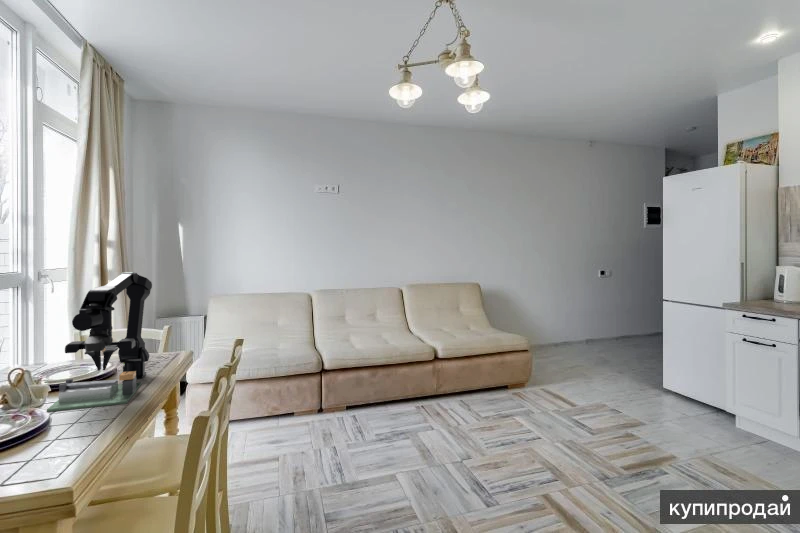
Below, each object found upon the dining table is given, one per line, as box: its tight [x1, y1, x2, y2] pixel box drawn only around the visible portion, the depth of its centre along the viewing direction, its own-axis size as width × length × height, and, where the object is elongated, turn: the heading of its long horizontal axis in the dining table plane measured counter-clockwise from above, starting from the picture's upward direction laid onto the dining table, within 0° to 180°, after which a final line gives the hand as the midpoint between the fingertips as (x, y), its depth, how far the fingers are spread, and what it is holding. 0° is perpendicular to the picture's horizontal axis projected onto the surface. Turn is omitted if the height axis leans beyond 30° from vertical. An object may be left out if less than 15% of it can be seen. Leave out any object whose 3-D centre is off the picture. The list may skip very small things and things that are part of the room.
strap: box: [67, 379, 118, 388], centre depth 134 cm, size 14×4×1 cm, turn 112°
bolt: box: [118, 371, 136, 382], centre depth 138 cm, size 4×4×2 cm
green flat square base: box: [46, 376, 142, 413], centre depth 135 cm, size 21×20×6 cm
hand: (101, 370), depth 135 cm, fingers closed
